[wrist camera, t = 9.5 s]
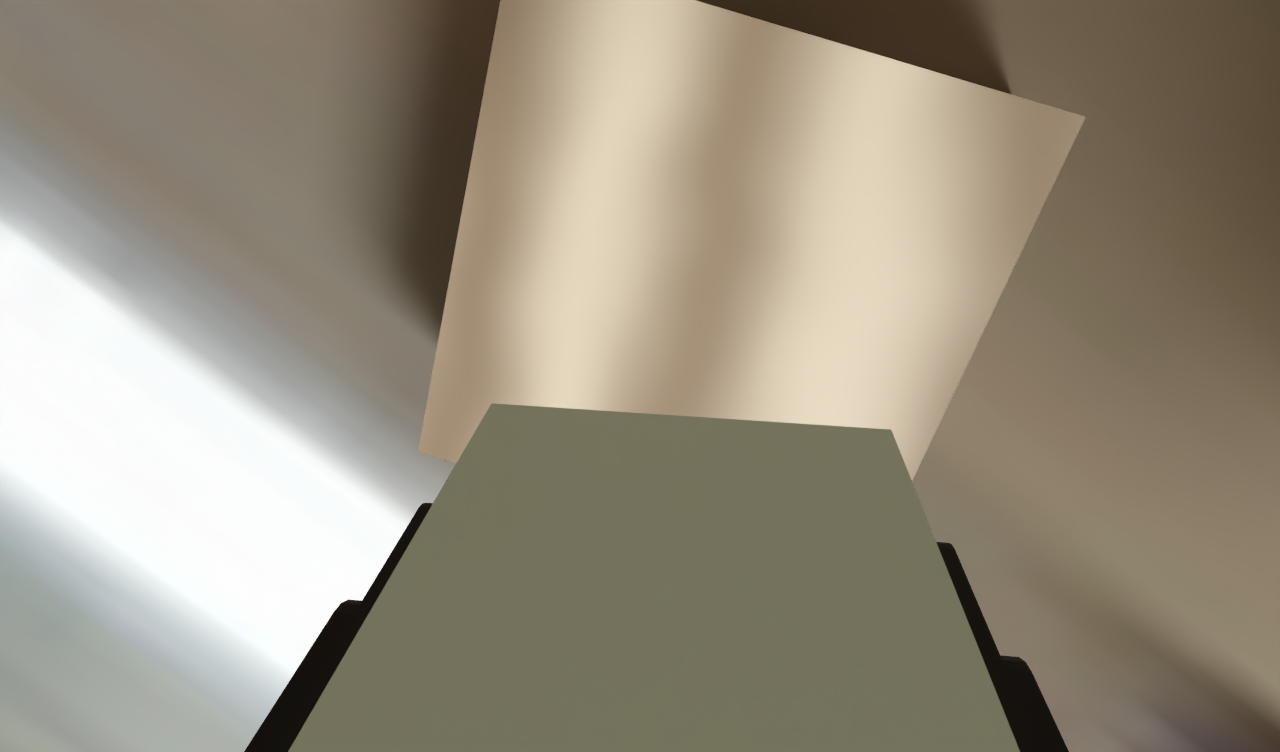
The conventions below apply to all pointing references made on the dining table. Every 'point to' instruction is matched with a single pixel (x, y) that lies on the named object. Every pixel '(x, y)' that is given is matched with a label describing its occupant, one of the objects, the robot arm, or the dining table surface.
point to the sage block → (666, 600)
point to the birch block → (728, 224)
